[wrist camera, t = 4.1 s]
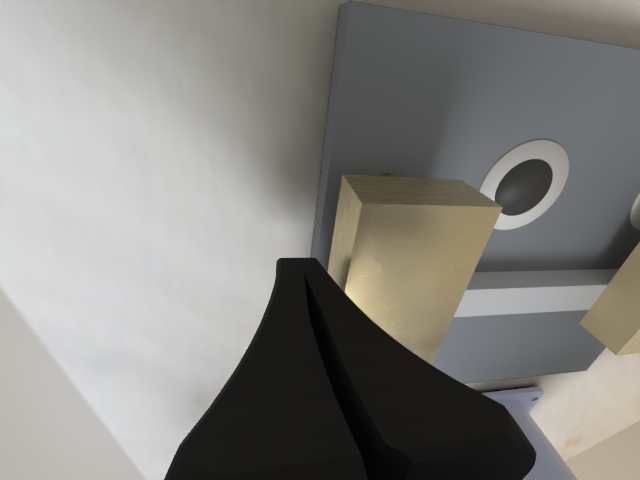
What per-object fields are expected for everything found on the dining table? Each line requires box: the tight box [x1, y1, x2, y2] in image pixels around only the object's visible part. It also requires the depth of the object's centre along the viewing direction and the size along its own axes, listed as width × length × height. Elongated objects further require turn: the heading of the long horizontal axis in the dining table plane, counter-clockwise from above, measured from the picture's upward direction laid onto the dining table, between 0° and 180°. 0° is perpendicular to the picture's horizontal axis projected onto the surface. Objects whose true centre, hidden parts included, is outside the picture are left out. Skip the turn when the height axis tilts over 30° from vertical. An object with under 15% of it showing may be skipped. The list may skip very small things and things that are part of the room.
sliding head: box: [327, 173, 503, 365], centre depth 11 cm, size 8×4×3 cm, turn 173°
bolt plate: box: [311, 1, 640, 384], centre depth 14 cm, size 18×20×4 cm
